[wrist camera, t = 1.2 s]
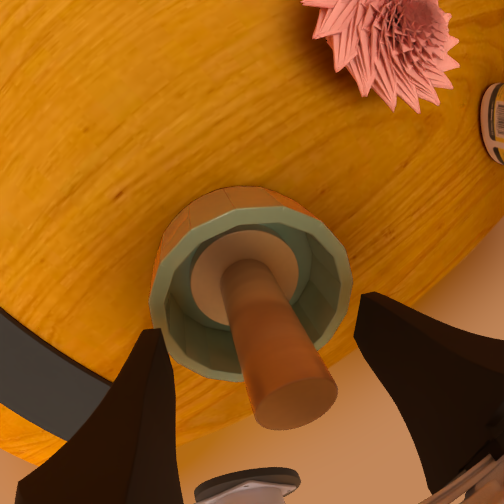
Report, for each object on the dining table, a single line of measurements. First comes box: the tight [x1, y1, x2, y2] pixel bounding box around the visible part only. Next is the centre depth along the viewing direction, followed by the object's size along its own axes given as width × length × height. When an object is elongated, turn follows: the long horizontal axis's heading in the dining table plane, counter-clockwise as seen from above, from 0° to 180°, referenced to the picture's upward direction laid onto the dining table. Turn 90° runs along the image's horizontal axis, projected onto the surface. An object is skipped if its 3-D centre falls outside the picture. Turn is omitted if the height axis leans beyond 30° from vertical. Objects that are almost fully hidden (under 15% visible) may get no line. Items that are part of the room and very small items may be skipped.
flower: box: [300, 0, 460, 114], centre depth 8 cm, size 8×8×6 cm
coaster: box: [0, 308, 113, 441], centre depth 15 cm, size 10×10×1 cm
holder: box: [148, 186, 353, 382], centre depth 13 cm, size 8×8×4 cm
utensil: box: [190, 224, 338, 430], centre depth 11 cm, size 5×5×8 cm
